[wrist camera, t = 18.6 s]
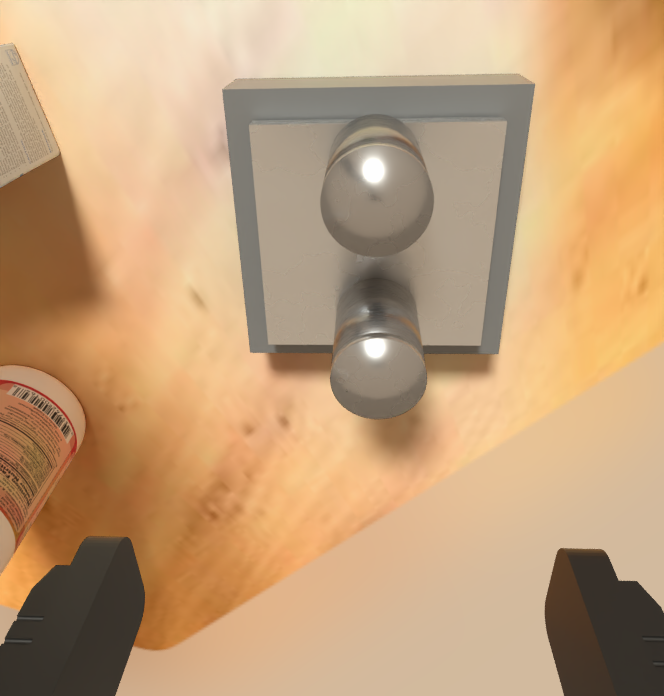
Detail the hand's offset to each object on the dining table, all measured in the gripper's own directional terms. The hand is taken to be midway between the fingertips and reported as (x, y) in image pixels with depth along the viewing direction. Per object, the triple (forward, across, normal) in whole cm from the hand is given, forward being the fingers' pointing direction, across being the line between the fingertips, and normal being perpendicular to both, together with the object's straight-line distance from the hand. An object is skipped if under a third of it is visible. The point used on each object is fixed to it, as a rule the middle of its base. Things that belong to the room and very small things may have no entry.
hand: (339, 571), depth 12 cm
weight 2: (+25, -1, +7) cm, 26 cm away
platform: (+26, -1, +3) cm, 26 cm away
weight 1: (+25, -1, -2) cm, 25 cm away
